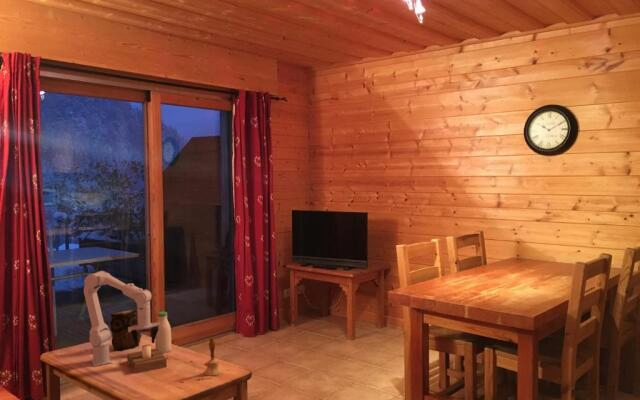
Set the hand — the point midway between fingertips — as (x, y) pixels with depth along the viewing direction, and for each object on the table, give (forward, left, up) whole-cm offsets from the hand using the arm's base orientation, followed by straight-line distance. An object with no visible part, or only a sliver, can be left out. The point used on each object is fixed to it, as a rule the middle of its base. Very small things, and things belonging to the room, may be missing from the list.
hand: (144, 344), depth 250 cm
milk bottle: (-15, +13, -10) cm, 22 cm away
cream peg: (0, +1, -10) cm, 10 cm away
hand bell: (+28, +24, -10) cm, 38 cm away
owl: (-33, -2, -10) cm, 34 cm away
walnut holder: (0, +1, -10) cm, 10 cm away
